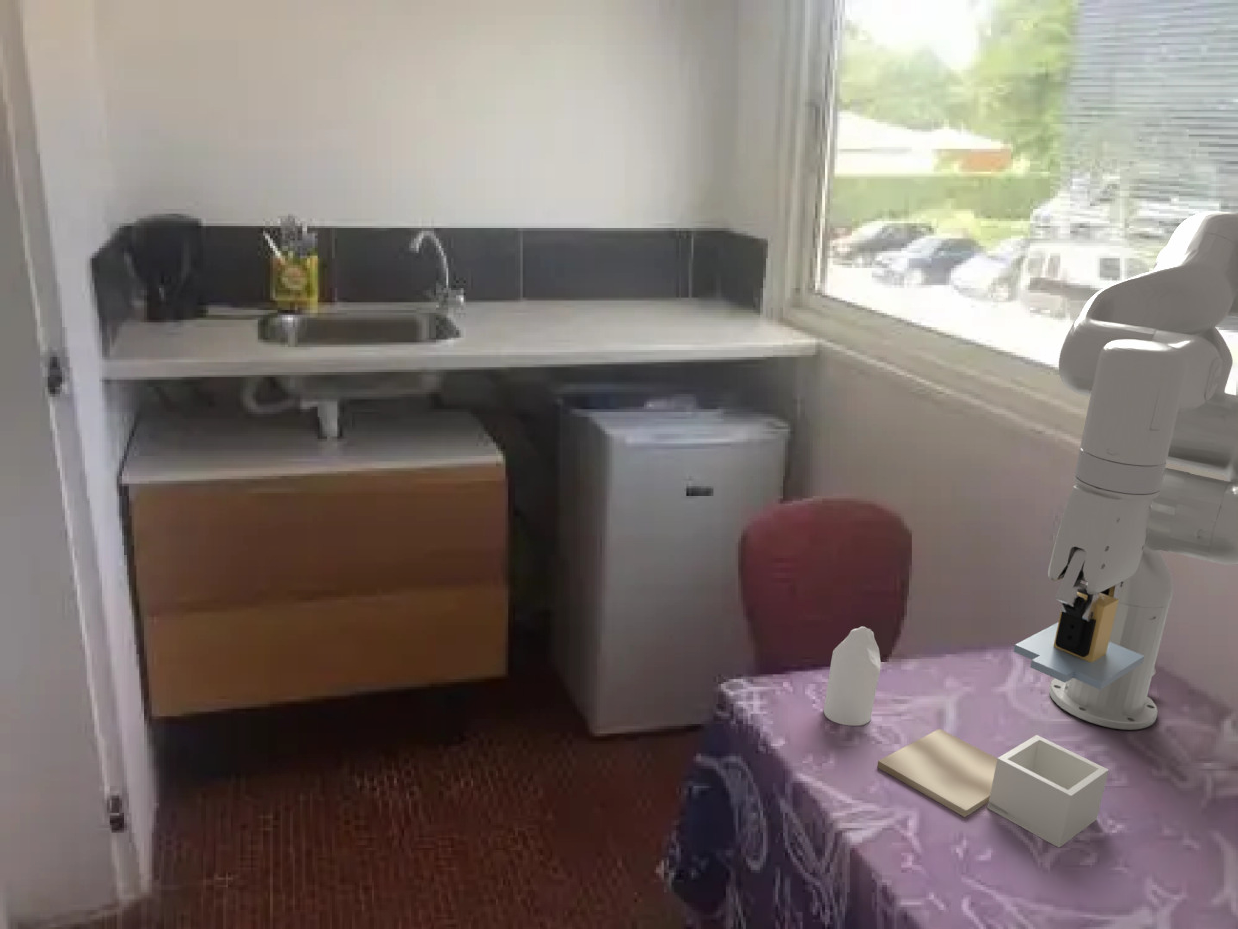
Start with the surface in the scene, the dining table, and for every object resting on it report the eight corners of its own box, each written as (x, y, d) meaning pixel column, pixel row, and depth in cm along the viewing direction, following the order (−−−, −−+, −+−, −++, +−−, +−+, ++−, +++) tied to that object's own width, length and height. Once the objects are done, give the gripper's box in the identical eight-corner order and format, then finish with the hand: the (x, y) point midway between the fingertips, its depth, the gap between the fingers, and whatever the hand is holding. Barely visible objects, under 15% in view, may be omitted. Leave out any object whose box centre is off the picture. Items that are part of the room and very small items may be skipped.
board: (938, 734, 127) (939, 728, 127) (1024, 779, 119) (1025, 773, 119) (877, 767, 119) (878, 760, 119) (964, 817, 111) (966, 810, 111)
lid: (1058, 628, 114) (1070, 569, 112) (1142, 663, 108) (1157, 601, 106) (1005, 656, 108) (1017, 594, 105) (1092, 695, 101) (1107, 629, 99)
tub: (1026, 783, 118) (1036, 735, 117) (1096, 819, 113) (1108, 769, 111) (987, 808, 113) (997, 758, 111) (1059, 847, 108) (1071, 796, 106)
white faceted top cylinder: (866, 610, 130) (898, 630, 125) (852, 699, 133) (882, 722, 129) (826, 617, 127) (857, 638, 122) (813, 708, 131) (842, 731, 126)
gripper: (1119, 448, 110) (1083, 611, 116) (1037, 475, 99) (1003, 653, 105) (1195, 468, 105) (1154, 639, 110) (1117, 500, 94) (1076, 686, 100)
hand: (1080, 644), depth 108 cm, fingers closed on lid, 3 cm apart
